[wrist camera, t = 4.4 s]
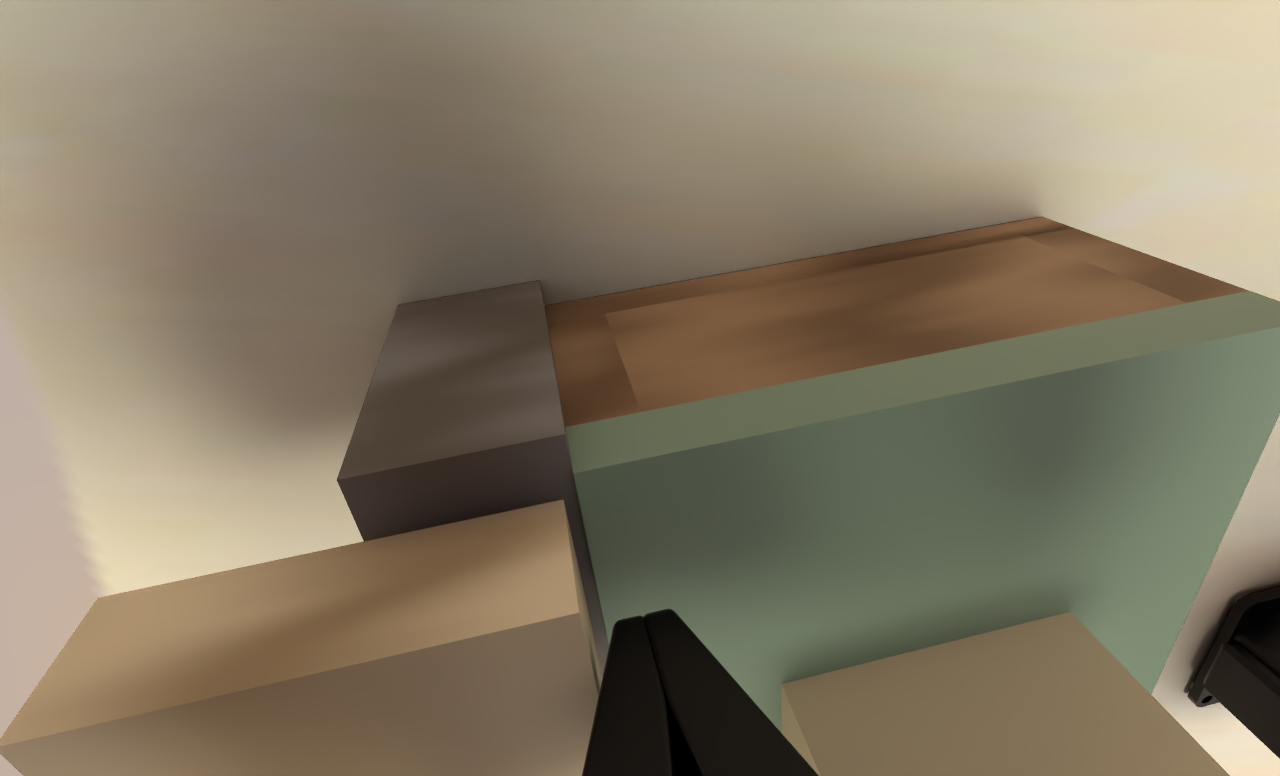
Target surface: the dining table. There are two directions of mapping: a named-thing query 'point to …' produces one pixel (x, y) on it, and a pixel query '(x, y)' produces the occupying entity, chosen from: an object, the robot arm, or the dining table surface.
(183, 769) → the wooden block
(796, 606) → the lid
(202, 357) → the dining table surface
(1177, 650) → the dining table surface
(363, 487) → the toolbox
